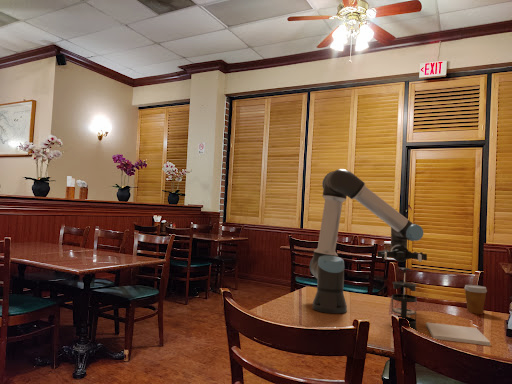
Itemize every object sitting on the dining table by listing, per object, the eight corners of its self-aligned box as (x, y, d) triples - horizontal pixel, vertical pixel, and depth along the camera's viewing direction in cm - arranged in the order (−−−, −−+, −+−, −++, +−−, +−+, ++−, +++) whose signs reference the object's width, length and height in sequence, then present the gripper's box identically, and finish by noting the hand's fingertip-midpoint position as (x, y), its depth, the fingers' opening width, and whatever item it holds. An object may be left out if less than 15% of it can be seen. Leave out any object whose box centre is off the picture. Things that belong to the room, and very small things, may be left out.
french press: (416, 333, 143) (417, 270, 144) (389, 329, 146) (391, 268, 148) (416, 325, 153) (417, 267, 155) (391, 321, 157) (393, 264, 158)
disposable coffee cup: (491, 314, 178) (492, 288, 178) (475, 315, 175) (475, 288, 176) (474, 309, 187) (475, 284, 188) (458, 309, 184) (459, 284, 185)
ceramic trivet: (433, 338, 137) (433, 335, 137) (426, 325, 154) (426, 322, 154) (490, 345, 132) (490, 342, 132) (476, 331, 149) (476, 328, 149)
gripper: (428, 262, 177) (435, 268, 157) (372, 259, 184) (371, 264, 164) (428, 246, 177) (435, 250, 157) (372, 243, 185) (371, 246, 164)
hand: (403, 257), depth 160 cm, fingers open, 13 cm apart
